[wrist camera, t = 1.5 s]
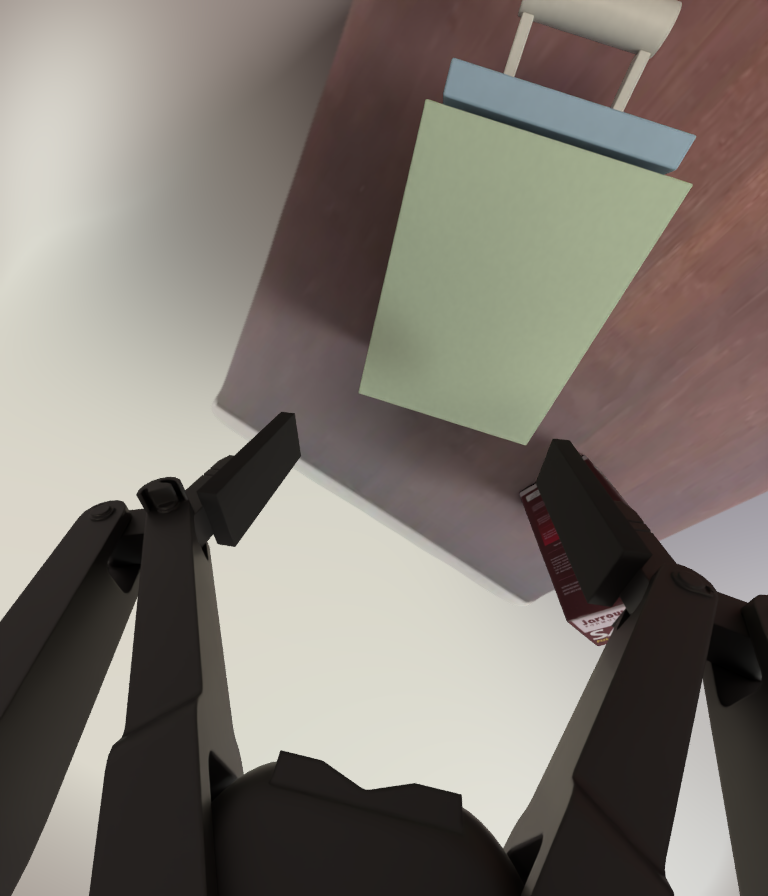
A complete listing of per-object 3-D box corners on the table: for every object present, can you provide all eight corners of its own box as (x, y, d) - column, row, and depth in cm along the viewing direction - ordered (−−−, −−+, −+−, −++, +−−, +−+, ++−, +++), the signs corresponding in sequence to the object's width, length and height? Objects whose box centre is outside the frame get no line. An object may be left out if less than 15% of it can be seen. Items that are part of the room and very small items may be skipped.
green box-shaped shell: (431, 166, 22) (425, 97, 13) (589, 217, 23) (694, 183, 13) (383, 353, 30) (358, 393, 21) (499, 390, 30) (526, 446, 21)
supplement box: (541, 514, 38) (596, 650, 25) (517, 492, 37) (562, 622, 23) (610, 478, 34) (722, 618, 20) (586, 452, 32) (688, 582, 19)
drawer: (477, 21, 18) (506, -164, 10) (654, 78, 18) (817, -62, 10) (395, 329, 28) (377, 354, 20) (509, 365, 28) (535, 404, 20)
